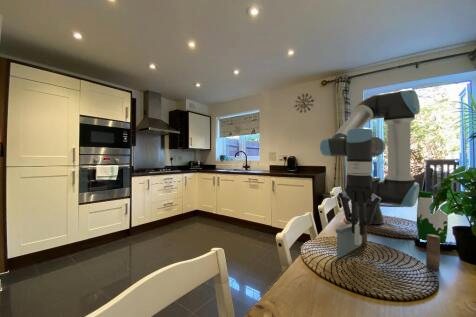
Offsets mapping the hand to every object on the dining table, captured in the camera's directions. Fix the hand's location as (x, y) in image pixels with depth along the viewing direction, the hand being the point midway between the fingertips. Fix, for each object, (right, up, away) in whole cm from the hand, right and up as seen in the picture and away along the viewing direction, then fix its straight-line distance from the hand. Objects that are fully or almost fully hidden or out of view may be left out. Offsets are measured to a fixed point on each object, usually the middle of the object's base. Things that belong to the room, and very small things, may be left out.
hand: (358, 243), depth 72 cm
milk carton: (+37, -5, +13) cm, 39 cm away
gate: (-1, -4, +4) cm, 5 cm away
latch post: (+19, -5, -7) cm, 21 cm away
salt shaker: (+13, -4, +26) cm, 29 cm away
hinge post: (+7, -4, +10) cm, 13 cm away
